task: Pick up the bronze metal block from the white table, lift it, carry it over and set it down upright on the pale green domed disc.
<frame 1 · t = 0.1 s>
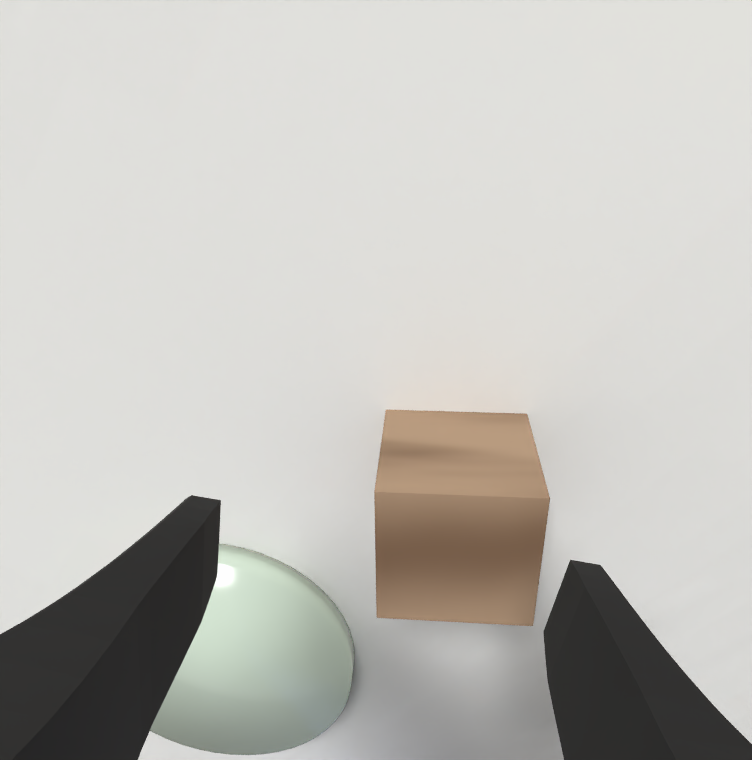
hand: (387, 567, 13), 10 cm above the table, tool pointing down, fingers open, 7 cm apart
pale green domed disc: (223, 645, 29), on the table
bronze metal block: (452, 468, 24), on the table
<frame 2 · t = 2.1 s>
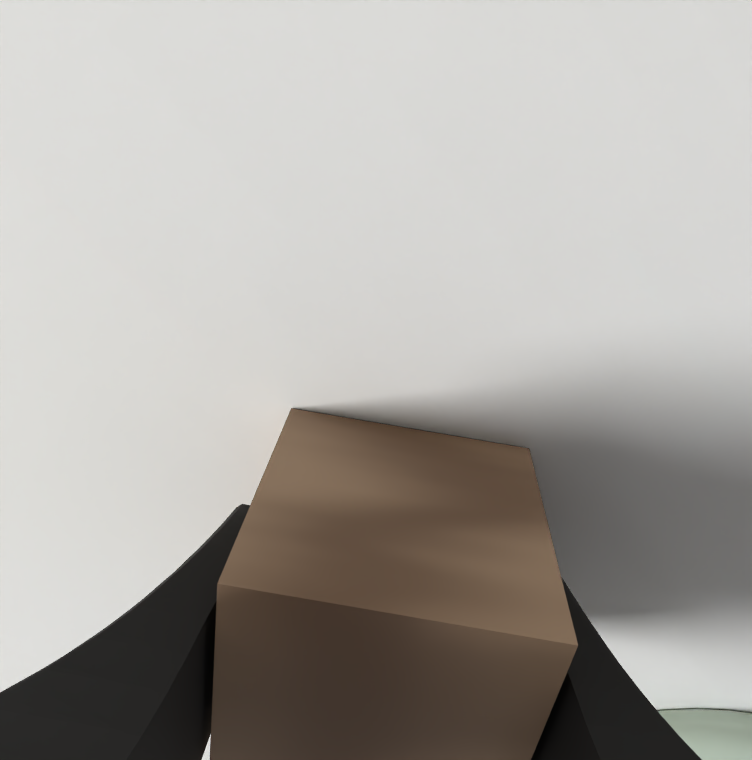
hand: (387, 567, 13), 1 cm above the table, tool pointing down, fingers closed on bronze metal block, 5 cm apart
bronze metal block: (391, 522, 14), on the table, touching gripper
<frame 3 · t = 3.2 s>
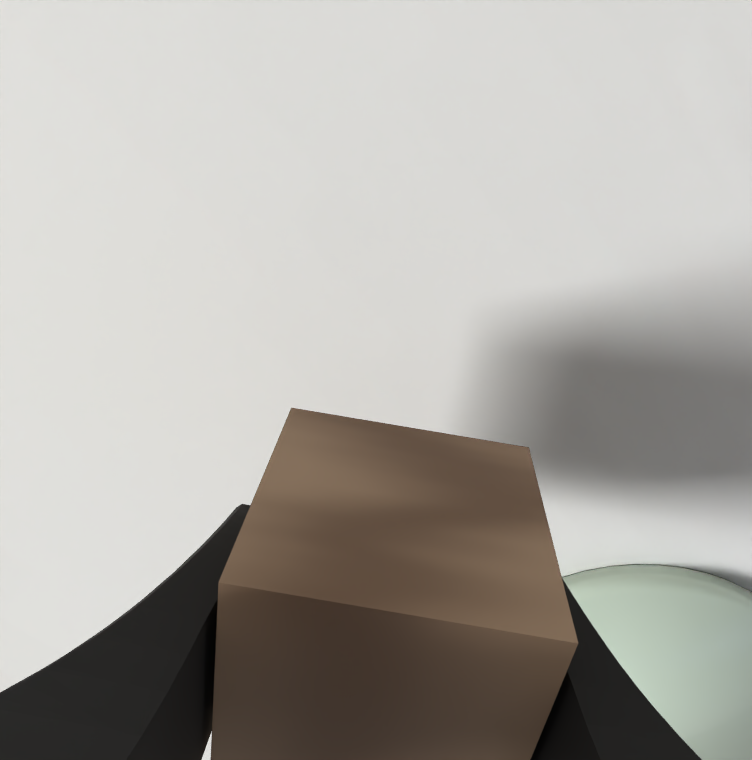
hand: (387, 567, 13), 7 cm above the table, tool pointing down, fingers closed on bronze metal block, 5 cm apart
pale green domed disc: (624, 690, 23), on the table
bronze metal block: (391, 521, 14), point 5 cm above the table, touching gripper
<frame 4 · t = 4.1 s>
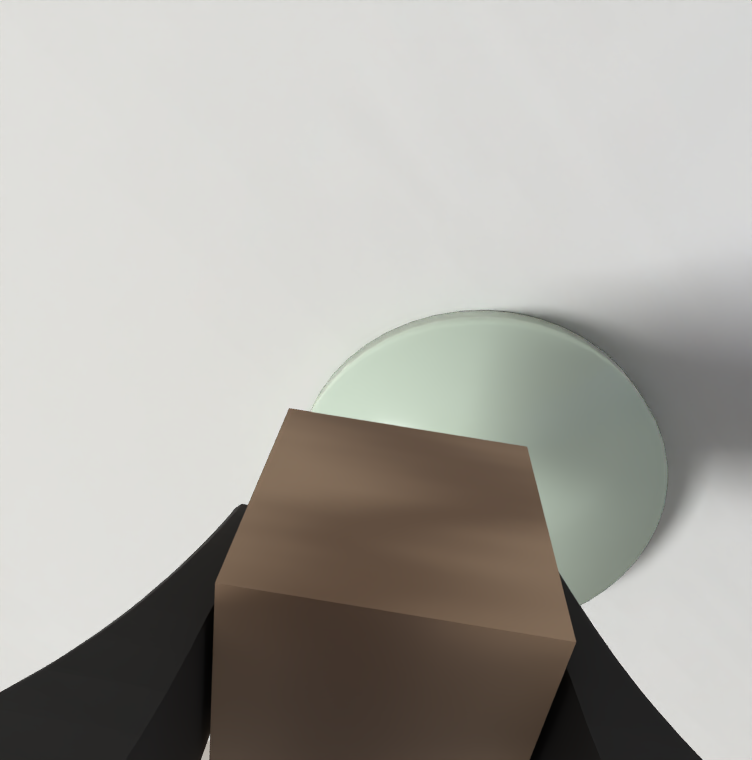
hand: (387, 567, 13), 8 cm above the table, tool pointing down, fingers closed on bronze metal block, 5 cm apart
pale green domed disc: (473, 475, 22), on the table
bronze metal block: (390, 521, 14), point 7 cm above the table, touching gripper
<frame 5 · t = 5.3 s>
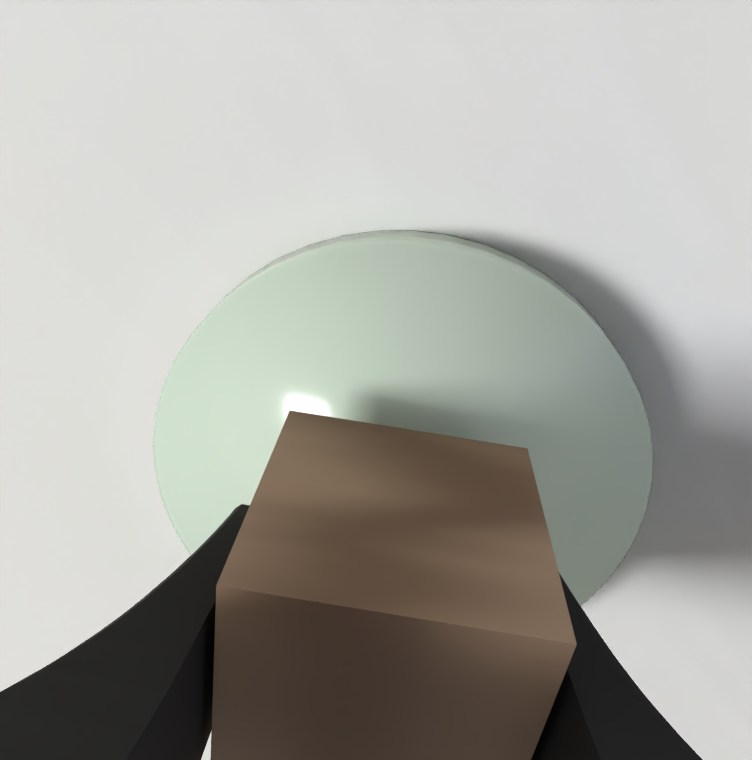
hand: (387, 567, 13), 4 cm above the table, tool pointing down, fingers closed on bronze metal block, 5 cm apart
pale green domed disc: (397, 460, 16), on the table
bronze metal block: (390, 523, 14), point 2 cm above the table, touching gripper
when the fingers open (4 cm above the table, at t = 6.2 s): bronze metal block drops 1 cm, resting on pale green domed disc.
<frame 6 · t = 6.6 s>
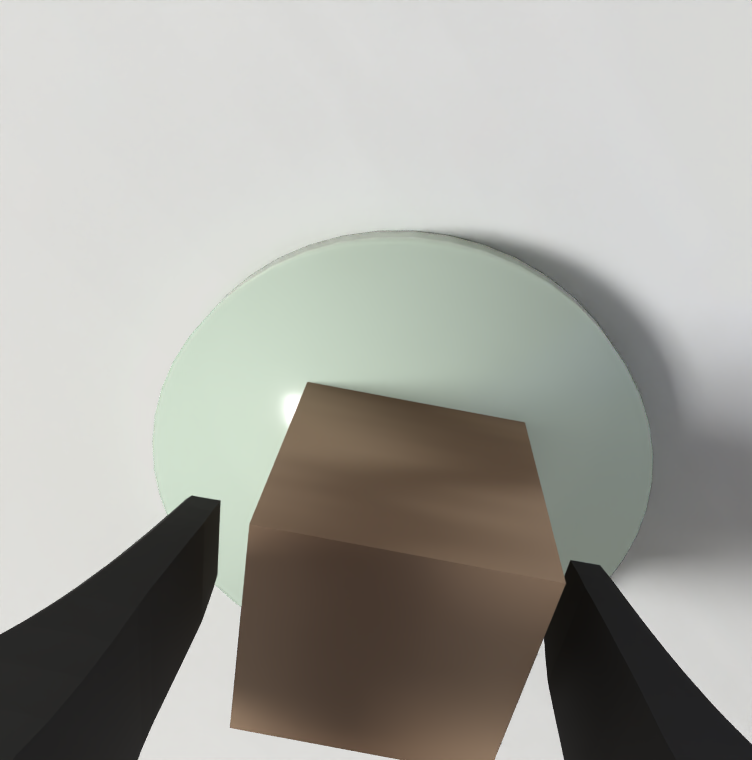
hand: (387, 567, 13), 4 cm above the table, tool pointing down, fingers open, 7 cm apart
pale green domed disc: (397, 461, 16), on the table
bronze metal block: (396, 490, 15), point 1 cm above the table, touching pale green domed disc
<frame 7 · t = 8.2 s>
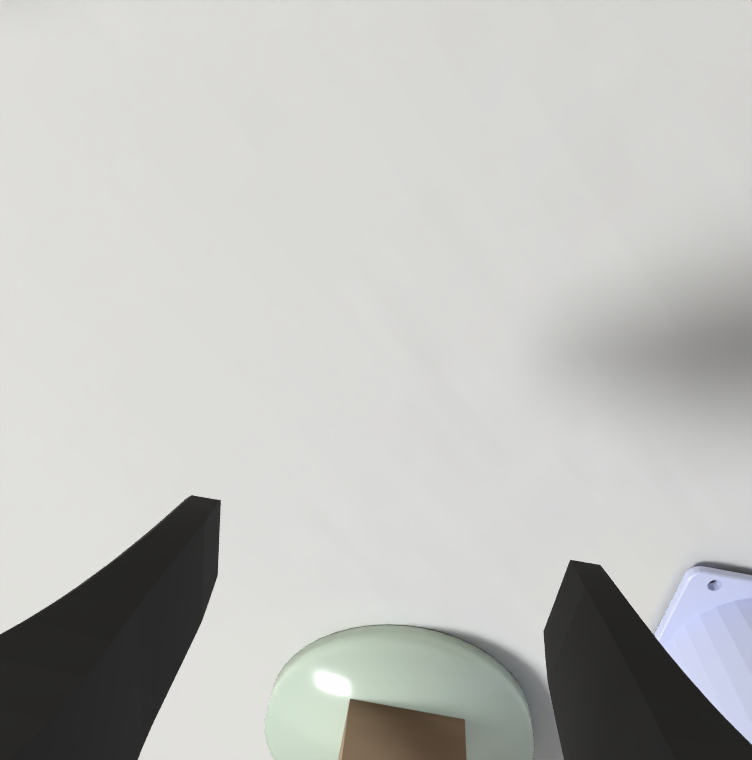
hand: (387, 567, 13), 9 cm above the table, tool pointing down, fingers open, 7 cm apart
pale green domed disc: (398, 719, 29), on the table
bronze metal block: (397, 745, 28), point 1 cm above the table, touching pale green domed disc
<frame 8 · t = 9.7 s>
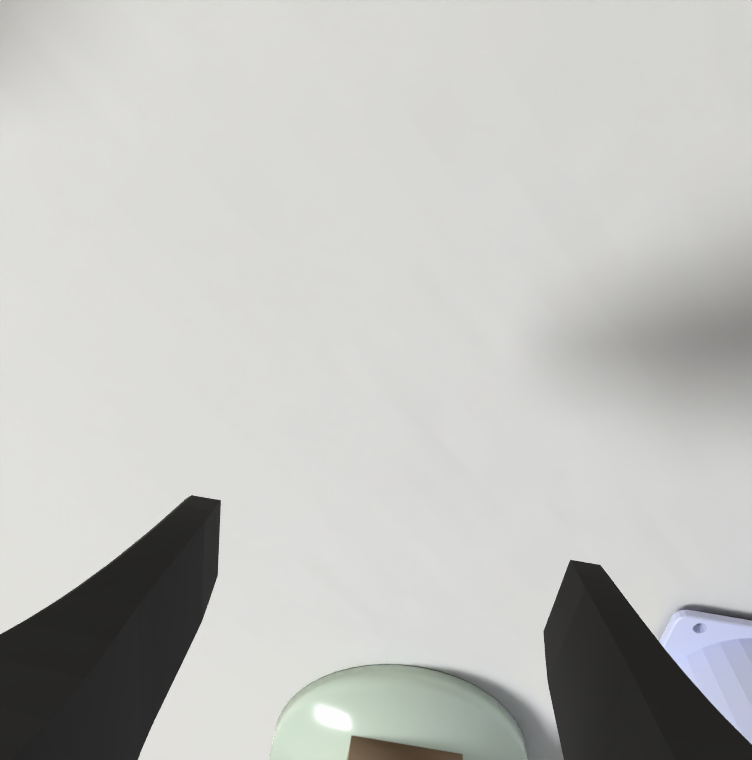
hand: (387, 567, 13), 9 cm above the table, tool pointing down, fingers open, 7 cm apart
pale green domed disc: (398, 752, 30), on the table
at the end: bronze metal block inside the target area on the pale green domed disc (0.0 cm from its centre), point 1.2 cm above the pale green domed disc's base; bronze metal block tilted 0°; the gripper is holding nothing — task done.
